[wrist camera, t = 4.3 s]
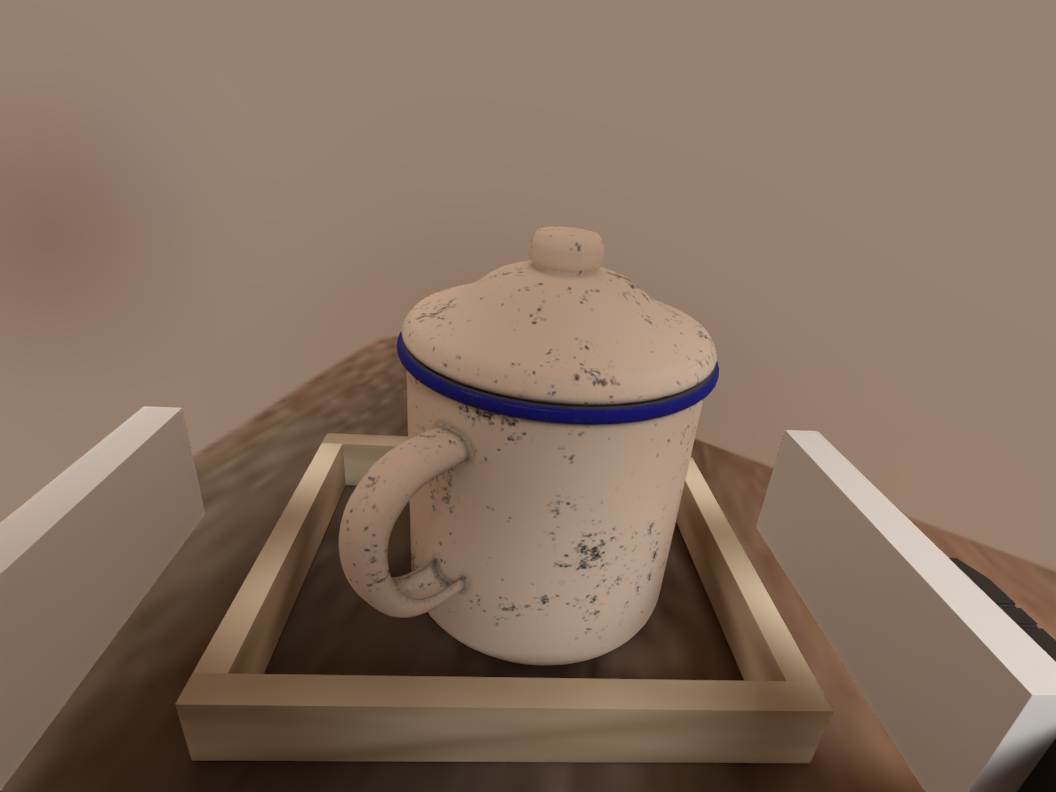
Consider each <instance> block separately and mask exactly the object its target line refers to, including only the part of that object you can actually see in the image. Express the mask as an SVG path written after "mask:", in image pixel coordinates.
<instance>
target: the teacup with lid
mask: <svg viewBox="0 0 1056 792" xmlns="http://www.w3.org/2000/svg"><path fill="white" fill-rule="evenodd" d="M529 255H530V259H531V260H530V261H523V262H518V263H514V264H509V265H506V266H503V267H501V268H499V269H496V270H494V271H493V272H491V273H489V274H488V275H486V276H484V277H483V278H481V279H480V280H478V281H477V282H475V283H472V284H466V285H461V286H456V287H452V288H449V289H445V290H442V291H439V292H437V293H434V294H432V295H430V296H428V297H426V298H425V299H423V300H422V301H420V302H419V303H418V304H417V305H416V306H415V307H414V308H412V310H411V311H410V312H409V314H408V315H407V317H406V319H405V320H404V323H403V326H402V331H401V332H400V335H399V337H398V341H397V351H398V356H399V358H400V360H401V363H402V364H403V366H404V367H405V368H406V370H407V409H408V440H407V441H405V442H403V443H401V444H399V445H398V446H396V447H395V448H393V449H392V450H390V451H389V452H387V453H386V454H385V455H384V456H382V457H381V458H380V459H379V460H378V461H377V462H376V463H375V464H374V465H373V466H372V467H371V468H370V469H369V470H368V472H367V473H366V474H365V475H364V477H363V478H362V479H361V481H360V482H359V483H358V485H357V487H356V488H355V490H354V491H353V493H352V495H351V496H350V499H349V501H348V503H347V505H346V507H345V510H344V513H343V516H342V520H341V524H340V531H339V554H340V560H341V564H342V568H343V571H344V573H345V576H346V578H347V580H348V582H349V583H350V585H351V586H352V588H353V589H354V590H355V592H356V593H357V594H358V595H359V596H360V597H361V598H362V599H364V600H365V601H366V602H367V603H368V604H370V605H371V606H372V607H374V608H375V609H377V610H378V611H380V612H382V613H384V614H386V615H389V616H393V617H399V618H407V617H414V616H418V615H421V614H423V613H426V612H428V613H429V615H430V616H431V617H432V619H433V620H434V621H435V622H436V623H437V624H438V625H439V626H440V627H441V628H442V629H443V630H445V631H446V632H447V633H448V634H449V635H451V636H452V637H454V638H455V639H456V640H458V641H459V642H461V643H463V644H465V645H466V646H468V647H470V648H472V649H474V650H476V651H479V652H481V653H483V654H486V655H488V656H491V657H494V658H497V659H501V660H505V661H509V662H513V663H520V664H526V665H539V666H548V665H564V664H572V663H577V662H582V661H586V660H589V659H593V658H596V657H599V656H601V655H604V654H606V653H608V652H610V651H612V650H614V649H616V648H618V647H620V646H621V645H623V644H624V643H626V642H627V641H628V640H630V639H631V638H632V637H633V636H634V635H635V634H636V633H638V632H639V630H640V629H641V628H642V627H643V626H644V625H645V624H646V622H647V621H648V619H649V618H650V616H651V614H652V612H653V610H654V608H655V606H656V604H657V601H658V597H659V594H660V589H661V585H662V580H663V576H664V572H665V567H666V563H667V558H668V554H669V550H670V545H671V541H672V536H673V532H674V528H675V523H676V519H677V514H678V510H679V506H680V501H681V497H682V492H683V488H684V483H685V479H686V475H687V470H688V466H689V461H690V457H691V453H692V448H693V444H694V439H695V435H696V431H697V426H698V422H699V417H700V413H701V408H702V404H703V400H704V398H705V397H706V396H707V395H708V394H709V393H710V392H711V391H712V390H713V388H714V387H715V385H716V383H717V379H718V376H719V375H718V374H719V367H718V362H717V353H716V349H715V346H714V343H713V341H712V339H711V337H710V335H709V334H708V333H707V331H706V330H705V329H704V328H703V327H702V326H701V325H700V324H699V323H698V322H697V321H695V320H694V319H693V318H692V317H690V316H688V315H687V314H685V313H683V312H681V311H679V310H678V309H676V308H673V307H671V306H669V305H666V304H664V303H662V302H659V301H656V300H653V299H652V298H651V297H650V296H648V295H647V294H646V293H645V292H644V291H643V290H642V289H641V288H640V287H639V286H638V285H636V284H635V283H634V282H632V281H631V280H630V279H628V278H627V277H625V276H623V275H621V274H619V273H616V272H614V271H612V270H609V269H606V268H603V267H600V266H601V264H602V261H603V255H604V243H603V241H602V239H601V237H600V236H599V235H598V234H597V233H595V232H593V231H589V230H586V229H580V228H573V227H544V228H541V229H539V230H537V231H536V232H535V233H534V235H533V236H532V238H531V241H530V252H529ZM409 500H410V534H411V570H412V572H410V573H408V574H405V575H402V576H399V577H391V575H390V572H389V566H388V544H389V539H390V534H391V532H392V529H393V526H394V524H395V522H396V520H397V518H398V517H399V515H400V513H401V512H402V510H403V509H404V507H405V506H406V504H407V503H408V502H409Z"/></svg>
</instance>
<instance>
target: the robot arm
mask: <svg viewBox="0 0 1056 792" xmlns="http://www.w3.org/2000/svg"><path fill="white" fill-rule="evenodd" d="M204 515H205V511H204V506H203V502H202V497H201V492H200V488H199V483H198V478H197V474H196V469H195V465H194V460H193V455H192V451H191V446H190V442H189V437H188V433H187V428H186V423H185V419H184V414H183V409H182V408H174V407H147V406H144V407H143V408H141V409H140V410H139V411H138V412H136V413H135V414H134V415H133V416H131V417H130V418H129V419H128V420H127V421H125V422H124V423H123V424H122V425H120V426H119V427H118V428H117V429H116V430H114V431H113V432H112V433H111V434H109V435H108V436H107V437H106V438H104V439H103V440H102V441H101V442H100V443H98V444H97V445H96V446H95V447H93V448H92V449H91V450H90V451H88V452H87V453H86V454H85V455H83V456H82V457H81V458H80V459H79V460H77V461H76V462H75V463H74V464H72V465H71V466H70V467H69V468H67V469H66V470H65V471H64V472H63V473H61V474H60V475H59V476H58V477H56V478H55V479H54V480H53V481H51V482H50V483H49V484H48V485H46V486H45V487H44V488H43V489H42V490H40V491H39V492H38V493H37V494H35V495H34V496H33V497H32V498H30V499H29V500H28V501H27V502H25V503H24V504H23V505H22V506H21V507H19V508H18V509H17V510H16V511H14V512H13V513H12V514H11V515H9V516H8V517H7V518H6V519H5V520H3V521H2V522H1V523H0V791H1V790H2V789H3V787H4V786H5V785H6V783H7V782H8V781H9V779H10V778H11V777H12V775H13V774H14V772H15V771H16V770H17V768H18V767H19V766H20V764H21V763H22V762H23V760H24V759H25V758H26V756H27V755H28V754H29V752H30V751H31V749H32V748H33V747H34V745H35V744H36V743H37V741H38V740H39V739H40V737H41V736H42V735H43V733H44V732H45V731H46V729H47V728H48V726H49V725H50V724H51V722H52V721H53V720H54V718H55V717H56V716H57V714H58V713H59V712H60V710H61V709H62V708H63V706H64V705H65V703H66V702H67V701H68V699H69V698H70V697H71V695H72V694H73V693H74V691H75V690H76V689H77V687H78V686H79V685H80V683H81V682H82V680H83V679H84V678H85V676H86V675H87V674H88V672H89V671H90V670H91V668H92V667H93V666H94V664H95V663H96V662H97V660H98V659H99V657H100V656H101V655H102V653H103V652H104V651H105V649H106V648H107V647H108V645H109V644H110V643H111V641H112V640H113V639H114V637H115V636H116V634H117V633H118V632H119V630H120V629H121V628H122V626H123V625H124V624H125V622H126V621H127V620H128V618H129V617H130V616H131V614H132V613H133V611H134V610H135V609H136V607H137V606H138V605H139V603H140V602H141V601H142V599H143V598H144V597H145V595H146V594H147V593H148V591H149V590H150V588H151V587H152V586H153V584H154V583H155V582H156V580H157V579H158V578H159V576H160V575H161V574H162V572H163V571H164V570H165V568H166V567H167V565H168V564H169V563H170V561H171V560H172V559H173V557H174V556H175V555H176V553H177V552H178V551H179V549H180V548H181V547H182V545H183V544H184V542H185V541H186V540H187V538H188V537H189V536H190V534H191V533H192V532H193V530H194V529H195V528H196V526H197V525H198V524H199V522H200V521H201V519H202V518H203V517H204ZM756 528H757V530H758V531H759V533H760V534H761V536H762V538H763V539H764V541H765V542H766V544H767V545H768V547H769V549H770V550H771V552H772V553H773V555H774V556H775V558H776V560H777V561H778V563H779V564H780V566H781V567H782V569H783V571H784V572H785V574H786V575H787V577H788V578H789V580H790V582H791V583H792V585H793V586H794V588H795V589H796V591H797V592H798V594H799V596H800V597H801V599H802V600H803V602H804V603H805V605H806V607H807V608H808V610H809V611H810V613H811V614H812V616H813V618H814V619H815V621H816V622H817V624H818V625H819V627H820V629H821V630H822V632H823V633H824V635H825V636H826V638H827V640H828V641H829V643H830V644H831V646H832V647H833V649H834V651H835V652H836V654H837V655H838V657H839V658H840V660H841V662H842V663H843V665H844V666H845V668H846V669H847V671H848V673H849V674H850V676H851V677H852V679H853V680H854V682H855V684H856V685H857V687H858V688H859V690H860V691H861V693H862V695H863V696H864V698H865V699H866V701H867V702H868V704H869V705H870V707H871V709H872V710H873V712H874V713H875V715H876V716H877V718H878V720H879V721H880V723H881V724H882V726H883V727H884V729H885V731H886V732H887V734H888V735H889V737H890V738H891V740H892V742H893V743H894V745H895V746H896V748H897V749H898V751H899V753H900V754H901V756H902V757H903V759H904V760H905V762H906V764H907V765H908V767H909V768H910V770H911V771H912V773H913V775H914V776H915V778H916V779H917V781H918V782H919V784H920V786H921V787H922V789H923V790H924V792H1056V641H1055V640H1054V639H1053V638H1052V637H1051V636H1050V635H1049V634H1048V633H1047V632H1046V631H1045V630H1043V629H1038V627H1037V623H1036V622H1035V621H1034V620H1033V619H1032V618H1031V617H1029V616H1028V615H1027V614H1026V613H1025V612H1024V611H1023V610H1022V609H1021V608H1016V607H1015V603H1014V602H1013V601H1012V600H1011V599H1010V598H1009V597H1008V596H1007V595H1006V594H1005V593H1004V592H1003V591H1002V590H1000V589H999V588H998V587H997V586H996V585H995V584H994V583H993V582H992V581H991V580H990V579H988V578H987V577H985V576H984V575H982V574H980V573H979V572H977V571H976V570H974V569H973V568H971V567H969V566H968V565H966V564H965V563H963V562H962V561H960V560H958V559H957V558H948V557H947V556H946V555H945V554H944V553H943V552H942V551H941V550H940V549H939V548H938V547H937V546H936V545H935V544H934V543H933V542H932V541H931V540H929V539H928V538H927V537H926V536H925V535H924V534H923V533H922V532H921V531H920V530H919V529H918V528H917V527H916V526H915V525H914V524H913V523H912V522H911V521H910V520H909V519H908V518H907V517H906V516H905V515H904V514H903V513H902V512H901V511H900V510H898V509H897V508H896V507H895V506H894V505H893V504H892V503H891V502H890V501H889V500H888V499H887V498H886V497H885V496H884V495H883V494H882V493H881V492H880V491H879V490H878V489H877V488H876V487H875V486H873V485H872V483H871V482H870V481H868V479H866V478H865V477H864V476H863V475H862V474H861V473H860V472H859V471H858V470H857V469H856V468H855V467H854V466H853V465H852V464H851V463H850V462H849V461H848V460H847V459H846V458H845V457H844V456H843V455H842V454H841V453H840V452H838V450H837V449H836V448H834V447H833V446H832V445H831V444H830V443H829V442H828V441H827V440H826V439H825V438H824V437H823V436H822V435H821V434H820V433H819V432H818V431H800V430H799V431H798V430H785V432H784V436H783V439H782V442H781V446H780V449H779V452H778V456H777V459H776V462H775V466H774V469H773V472H772V476H771V479H770V482H769V486H768V489H767V492H766V496H765V499H764V502H763V506H762V509H761V512H760V516H759V519H758V522H757V526H756Z"/></svg>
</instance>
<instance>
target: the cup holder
mask: <svg viewBox="0 0 1056 792" xmlns="http://www.w3.org/2000/svg"><path fill="white" fill-rule="evenodd" d="M407 440H408V436H383V435H358V434H333V433H327V435H326V437H325V439H324V440H323V442H322V444H321V446H320V448H319V449H318V451H317V453H316V455H315V456H314V458H313V460H312V462H311V464H310V465H309V467H308V469H307V471H306V472H305V474H304V476H303V478H302V480H301V481H300V483H299V485H298V487H297V488H296V490H295V492H294V494H293V496H292V497H291V499H290V501H289V503H288V504H287V506H286V508H285V510H284V512H283V513H282V515H281V517H280V519H279V520H278V522H277V524H276V526H275V528H274V529H273V531H272V533H271V535H270V536H269V538H268V540H267V542H266V543H265V545H264V547H263V549H262V551H261V552H260V554H259V556H258V558H257V559H256V561H255V563H254V565H253V567H252V568H251V570H250V572H249V574H248V575H247V577H246V579H245V581H244V583H243V584H242V586H241V588H240V590H239V591H238V593H237V595H236V597H235V599H234V600H233V602H232V604H231V606H230V607H229V609H228V611H227V613H226V615H225V616H224V618H223V620H222V622H221V623H220V625H219V627H218V629H217V631H216V632H215V634H214V636H213V638H212V639H211V641H210V643H209V645H208V647H207V648H206V650H205V652H204V654H203V655H202V657H201V659H200V661H199V663H198V664H197V666H196V668H195V670H194V671H193V673H192V675H191V677H190V679H189V680H188V682H187V684H186V686H185V687H184V689H183V691H182V693H181V695H180V696H179V698H178V700H177V702H176V703H175V706H176V710H177V713H178V717H179V720H180V723H181V727H182V730H183V733H184V737H185V740H186V743H187V747H188V750H189V753H190V757H191V760H192V761H404V762H636V763H810V762H811V760H812V758H813V756H814V753H815V751H816V749H817V747H818V745H819V742H820V740H821V738H822V736H823V734H824V731H825V729H826V727H827V725H828V723H829V720H830V718H831V716H832V714H833V712H834V711H833V709H832V707H831V706H830V704H829V702H828V700H827V699H826V697H825V695H824V693H823V691H822V690H821V688H820V686H819V684H818V682H817V681H816V679H815V677H814V675H813V673H812V672H811V670H810V668H809V666H808V664H807V663H806V661H805V659H804V657H803V655H802V654H801V652H800V650H799V648H798V647H797V645H796V643H795V641H794V639H793V638H792V636H791V634H790V632H789V630H788V629H787V627H786V625H785V623H784V621H783V620H782V618H781V616H780V614H779V612H778V611H777V609H776V607H775V605H774V603H773V602H772V600H771V598H770V596H769V594H768V593H767V591H766V589H765V587H764V586H763V584H762V582H761V580H760V578H759V577H758V575H757V573H756V571H755V569H754V568H753V566H752V564H751V562H750V560H749V559H748V557H747V555H746V553H745V551H744V550H743V548H742V546H741V544H740V542H739V541H738V539H737V537H736V535H735V533H734V532H733V530H732V528H731V526H730V525H729V523H728V521H727V519H726V517H725V516H724V514H723V512H722V510H721V508H720V507H719V505H718V503H717V501H716V499H715V498H714V496H713V494H712V492H711V490H710V489H709V487H708V485H707V483H706V481H705V480H704V478H703V476H702V474H701V473H700V471H699V469H698V467H697V465H696V464H695V462H694V460H693V458H692V456H691V457H690V461H689V466H688V470H687V475H686V479H685V483H684V488H683V492H682V497H681V501H680V506H679V510H678V514H677V519H676V523H677V525H678V527H679V530H680V532H681V534H682V537H683V539H684V541H685V544H686V546H687V548H688V551H689V553H690V555H691V558H692V560H693V562H694V565H695V567H696V569H697V572H698V574H699V576H700V579H701V581H702V583H703V586H704V588H705V590H706V593H707V595H708V597H709V600H710V602H711V604H712V607H713V609H714V611H715V614H716V616H717V618H718V621H719V623H720V625H721V628H722V630H723V632H724V635H725V637H726V639H727V642H728V644H729V646H730V649H731V651H732V653H733V656H734V658H735V660H736V663H737V665H738V667H739V670H740V672H741V674H742V677H743V679H744V681H731V680H659V679H586V678H514V677H441V676H369V675H296V674H264V673H265V670H266V668H267V666H268V664H269V661H270V659H271V657H272V654H273V652H274V650H275V647H276V645H277V643H278V640H279V638H280V636H281V633H282V631H283V629H284V627H285V624H286V622H287V620H288V617H289V615H290V613H291V610H292V608H293V606H294V603H295V601H296V599H297V597H298V594H299V592H300V590H301V587H302V585H303V583H304V580H305V578H306V576H307V573H308V571H309V569H310V567H311V564H312V562H313V560H314V557H315V555H316V553H317V550H318V548H319V546H320V543H321V541H322V539H323V537H324V534H325V532H326V530H327V527H328V525H329V523H330V520H331V518H332V516H333V513H334V511H335V509H336V506H337V504H338V502H339V500H340V497H341V495H342V493H343V490H344V488H345V486H346V485H354V486H357V485H358V483H359V482H360V481H361V479H362V478H363V477H364V475H365V474H366V473H367V472H368V470H369V469H370V468H371V467H372V466H373V465H374V464H375V463H376V462H377V461H378V460H379V459H380V458H381V457H382V456H384V455H385V454H386V453H387V452H389V451H390V450H392V449H393V448H395V447H396V446H398V445H399V444H401V443H403V442H405V441H407Z"/></svg>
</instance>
